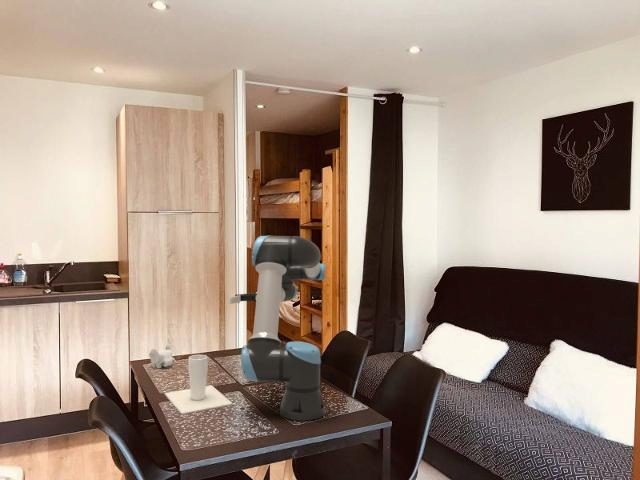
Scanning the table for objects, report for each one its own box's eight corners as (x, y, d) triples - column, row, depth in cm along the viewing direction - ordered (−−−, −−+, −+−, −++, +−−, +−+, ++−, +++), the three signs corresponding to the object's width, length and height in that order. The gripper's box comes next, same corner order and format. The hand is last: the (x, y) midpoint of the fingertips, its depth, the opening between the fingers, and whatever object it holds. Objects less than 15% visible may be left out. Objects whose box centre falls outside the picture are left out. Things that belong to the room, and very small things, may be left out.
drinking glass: (197, 393, 184) (197, 353, 184) (211, 397, 181) (211, 356, 180) (184, 399, 178) (184, 357, 178) (197, 402, 175) (198, 360, 174)
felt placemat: (232, 404, 175) (232, 403, 175) (181, 414, 165) (181, 413, 165) (211, 386, 194) (211, 385, 194) (164, 394, 184) (164, 393, 184)
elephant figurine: (163, 372, 211) (163, 351, 211) (144, 367, 217) (144, 347, 217) (180, 366, 219) (180, 346, 219) (161, 362, 225) (161, 342, 225)
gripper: (297, 306, 212) (269, 314, 194) (249, 301, 224) (219, 308, 206) (297, 289, 212) (269, 295, 194) (249, 284, 224) (219, 290, 205)
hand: (243, 302), depth 200 cm, fingers open, 13 cm apart
